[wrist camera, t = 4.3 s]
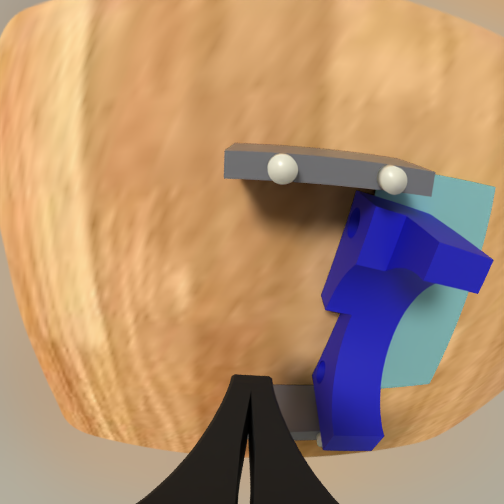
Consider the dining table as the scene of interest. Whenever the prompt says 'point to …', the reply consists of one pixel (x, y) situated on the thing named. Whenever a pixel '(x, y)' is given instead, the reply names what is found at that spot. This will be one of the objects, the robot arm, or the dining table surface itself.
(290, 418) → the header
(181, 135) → the dining table surface
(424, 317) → the mat
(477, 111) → the dining table surface
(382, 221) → the blue bent block
